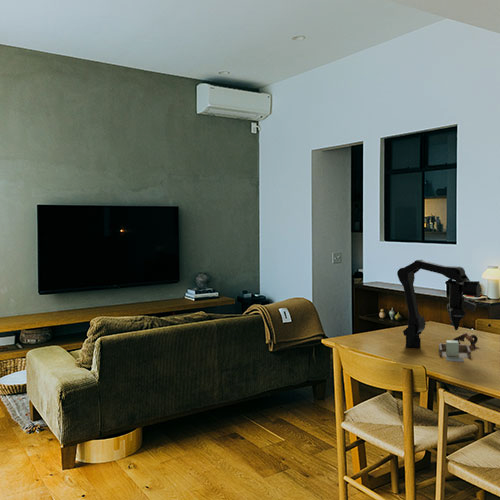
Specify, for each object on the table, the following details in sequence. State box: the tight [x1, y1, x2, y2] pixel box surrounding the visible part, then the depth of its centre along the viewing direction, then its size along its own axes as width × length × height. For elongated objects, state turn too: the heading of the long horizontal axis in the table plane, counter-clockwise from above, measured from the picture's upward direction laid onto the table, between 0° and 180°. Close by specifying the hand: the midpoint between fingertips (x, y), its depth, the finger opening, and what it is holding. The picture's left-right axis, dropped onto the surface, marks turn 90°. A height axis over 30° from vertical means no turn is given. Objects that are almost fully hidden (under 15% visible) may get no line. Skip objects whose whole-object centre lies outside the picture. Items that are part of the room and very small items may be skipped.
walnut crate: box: [438, 342, 472, 359], centre depth 238 cm, size 13×13×3 cm
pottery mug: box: [452, 332, 478, 351], centre depth 251 cm, size 12×10×8 cm
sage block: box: [445, 339, 459, 356], centre depth 236 cm, size 5×5×6 cm
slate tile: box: [445, 356, 465, 363], centre depth 228 cm, size 7×7×1 cm
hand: (455, 328), depth 237 cm, fingers open, 9 cm apart
